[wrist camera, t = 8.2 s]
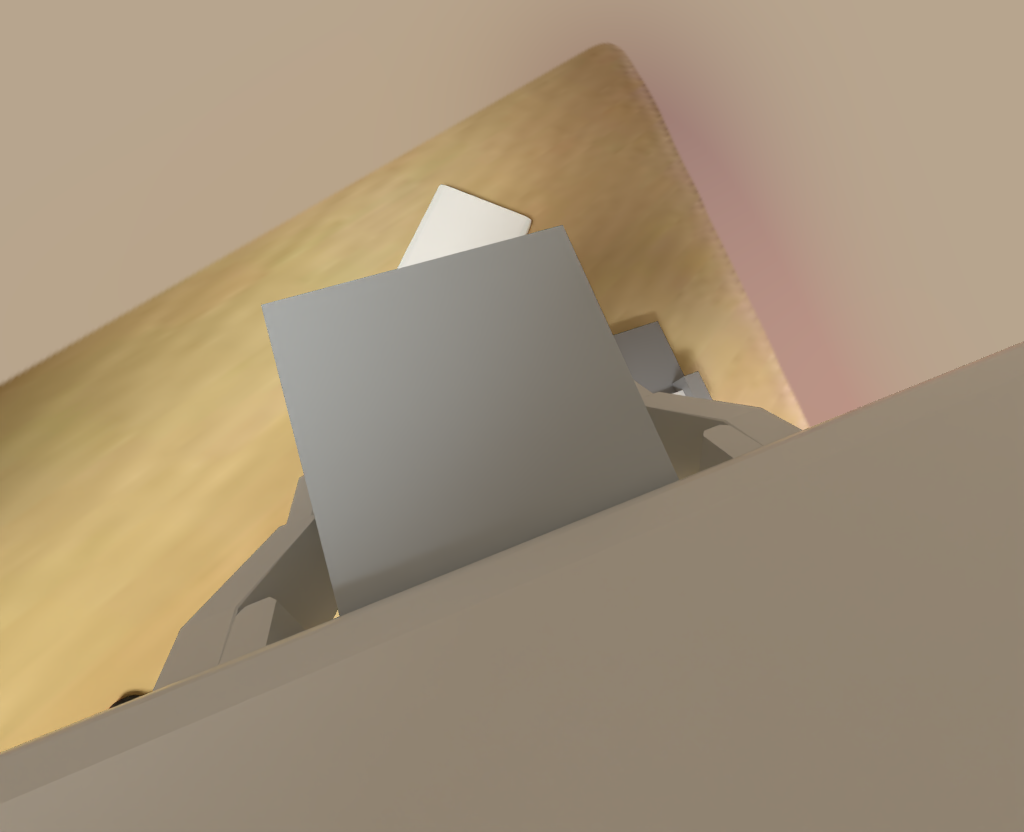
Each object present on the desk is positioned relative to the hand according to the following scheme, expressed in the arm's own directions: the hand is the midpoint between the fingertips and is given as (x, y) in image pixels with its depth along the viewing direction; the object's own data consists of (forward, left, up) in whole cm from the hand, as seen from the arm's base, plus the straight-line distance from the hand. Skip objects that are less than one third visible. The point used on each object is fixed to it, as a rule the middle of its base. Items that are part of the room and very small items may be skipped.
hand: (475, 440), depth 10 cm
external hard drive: (-3, +17, -18) cm, 25 cm away
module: (0, -1, -5) cm, 5 cm away
